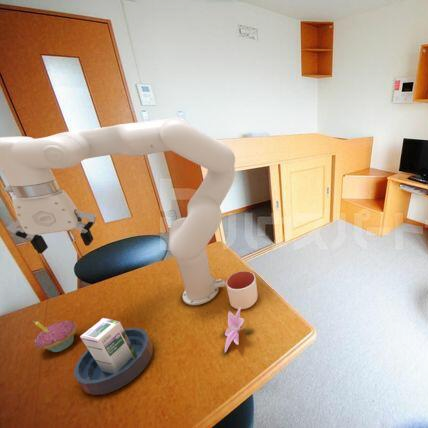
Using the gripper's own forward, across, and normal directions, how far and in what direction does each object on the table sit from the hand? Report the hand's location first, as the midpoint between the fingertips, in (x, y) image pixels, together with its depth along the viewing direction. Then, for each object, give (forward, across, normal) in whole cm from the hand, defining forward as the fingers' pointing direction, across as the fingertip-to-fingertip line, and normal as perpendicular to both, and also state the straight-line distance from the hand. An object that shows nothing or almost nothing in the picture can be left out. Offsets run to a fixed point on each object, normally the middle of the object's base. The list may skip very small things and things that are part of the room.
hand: (67, 246), depth 66 cm
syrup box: (+30, +8, -19) cm, 36 cm away
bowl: (+30, +8, -19) cm, 36 cm away
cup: (+30, +44, -8) cm, 54 cm away
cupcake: (+30, -9, -4) cm, 32 cm away
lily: (+30, +39, -23) cm, 54 cm away
